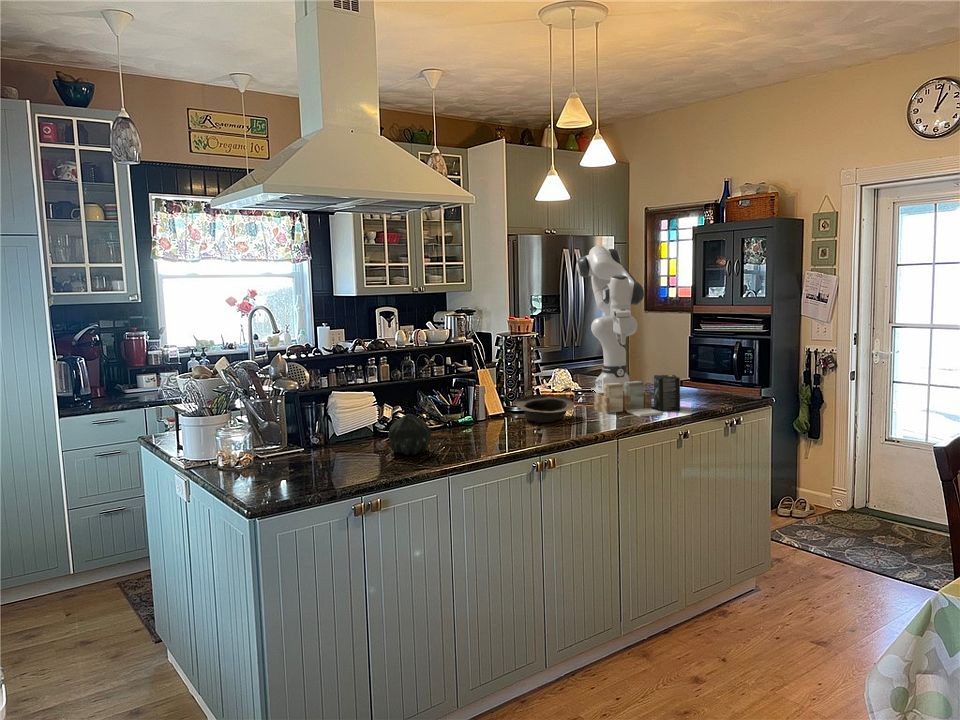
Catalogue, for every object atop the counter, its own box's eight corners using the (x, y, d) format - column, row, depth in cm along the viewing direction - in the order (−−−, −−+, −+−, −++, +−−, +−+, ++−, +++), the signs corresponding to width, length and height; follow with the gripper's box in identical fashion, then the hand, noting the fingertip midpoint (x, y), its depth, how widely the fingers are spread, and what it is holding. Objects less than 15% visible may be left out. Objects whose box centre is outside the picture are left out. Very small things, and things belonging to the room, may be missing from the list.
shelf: (593, 408, 325) (593, 382, 324) (636, 404, 332) (636, 378, 330) (607, 413, 313) (606, 386, 311) (651, 409, 319) (651, 382, 318)
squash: (411, 429, 266) (393, 404, 257) (444, 435, 258) (426, 409, 248) (393, 461, 259) (373, 436, 249) (425, 468, 251) (406, 442, 241)
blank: (603, 410, 320) (603, 383, 319) (618, 409, 322) (617, 382, 321) (608, 412, 316) (608, 385, 314) (623, 411, 318) (622, 384, 317)
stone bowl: (541, 411, 323) (542, 390, 321) (586, 422, 305) (587, 400, 304) (502, 419, 306) (503, 397, 304) (548, 431, 288) (549, 408, 287)
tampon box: (680, 410, 315) (680, 377, 313) (659, 411, 315) (659, 378, 313) (674, 406, 326) (674, 374, 324) (653, 406, 326) (653, 374, 324)
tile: (626, 412, 315) (626, 410, 315) (649, 410, 318) (649, 407, 318) (639, 416, 304) (639, 414, 304) (662, 414, 308) (662, 412, 308)
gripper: (609, 312, 329) (610, 342, 330) (617, 313, 309) (618, 345, 310) (623, 311, 329) (624, 341, 330) (632, 312, 309) (633, 344, 310)
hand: (621, 343), depth 320 cm, fingers open, 8 cm apart
